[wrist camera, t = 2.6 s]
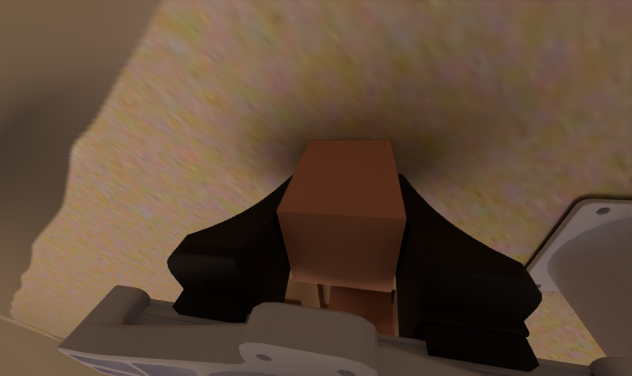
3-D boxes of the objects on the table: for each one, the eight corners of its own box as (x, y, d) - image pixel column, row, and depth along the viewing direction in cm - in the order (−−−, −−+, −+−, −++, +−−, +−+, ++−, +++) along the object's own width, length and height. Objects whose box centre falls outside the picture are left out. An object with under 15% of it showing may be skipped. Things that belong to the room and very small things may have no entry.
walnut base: (418, 246, 16) (446, 363, 11) (400, 313, 22) (411, 411, 17) (218, 230, 19) (159, 315, 14) (248, 293, 25) (215, 370, 20)
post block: (390, 139, 12) (406, 218, 7) (382, 203, 15) (391, 292, 10) (309, 140, 13) (276, 211, 8) (316, 200, 15) (293, 280, 11)
